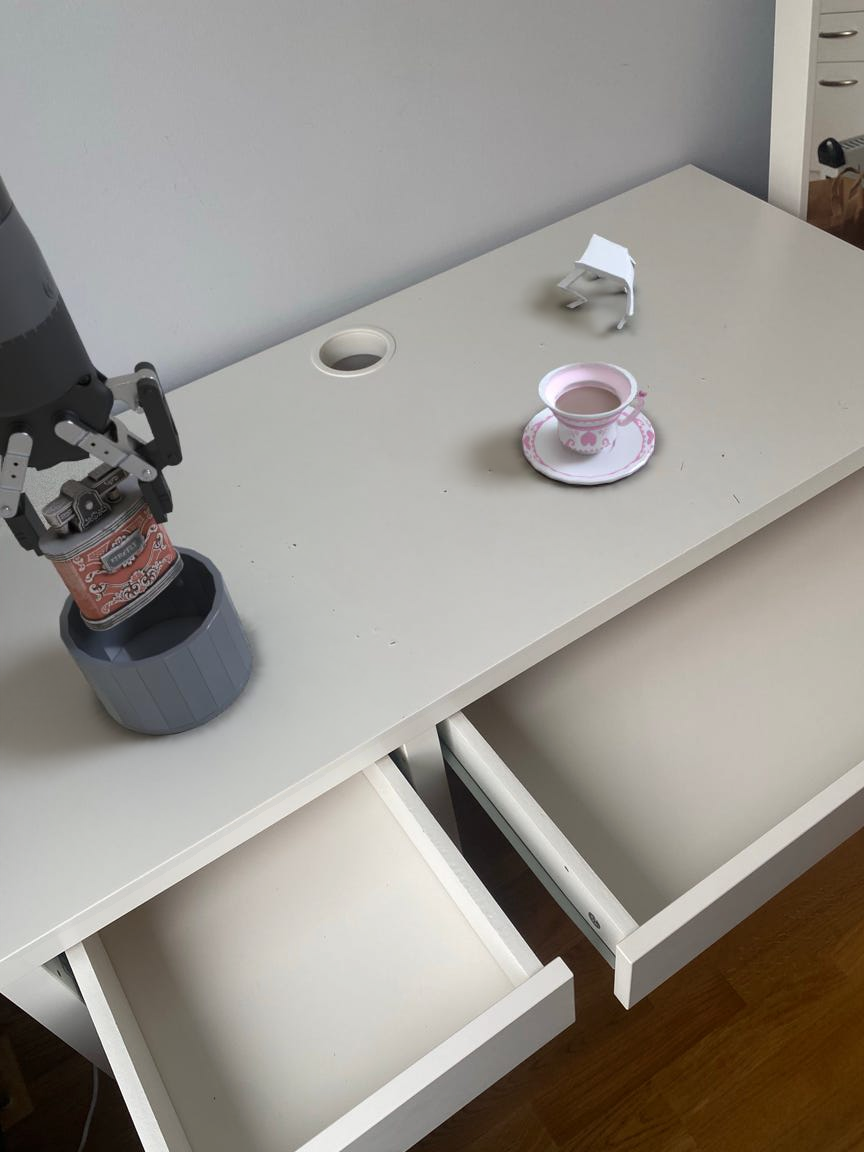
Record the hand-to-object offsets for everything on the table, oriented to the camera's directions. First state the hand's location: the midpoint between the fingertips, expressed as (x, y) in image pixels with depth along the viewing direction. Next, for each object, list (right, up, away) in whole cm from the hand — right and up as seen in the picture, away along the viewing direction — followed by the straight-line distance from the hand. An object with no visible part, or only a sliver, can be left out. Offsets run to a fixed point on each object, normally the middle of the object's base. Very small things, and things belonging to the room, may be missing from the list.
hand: (103, 530), depth 64 cm
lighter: (+1, -4, +5) cm, 6 cm away
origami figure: (+38, +28, +39) cm, 61 cm away
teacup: (+34, +11, +25) cm, 44 cm away
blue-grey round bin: (+1, -10, +12) cm, 15 cm away
